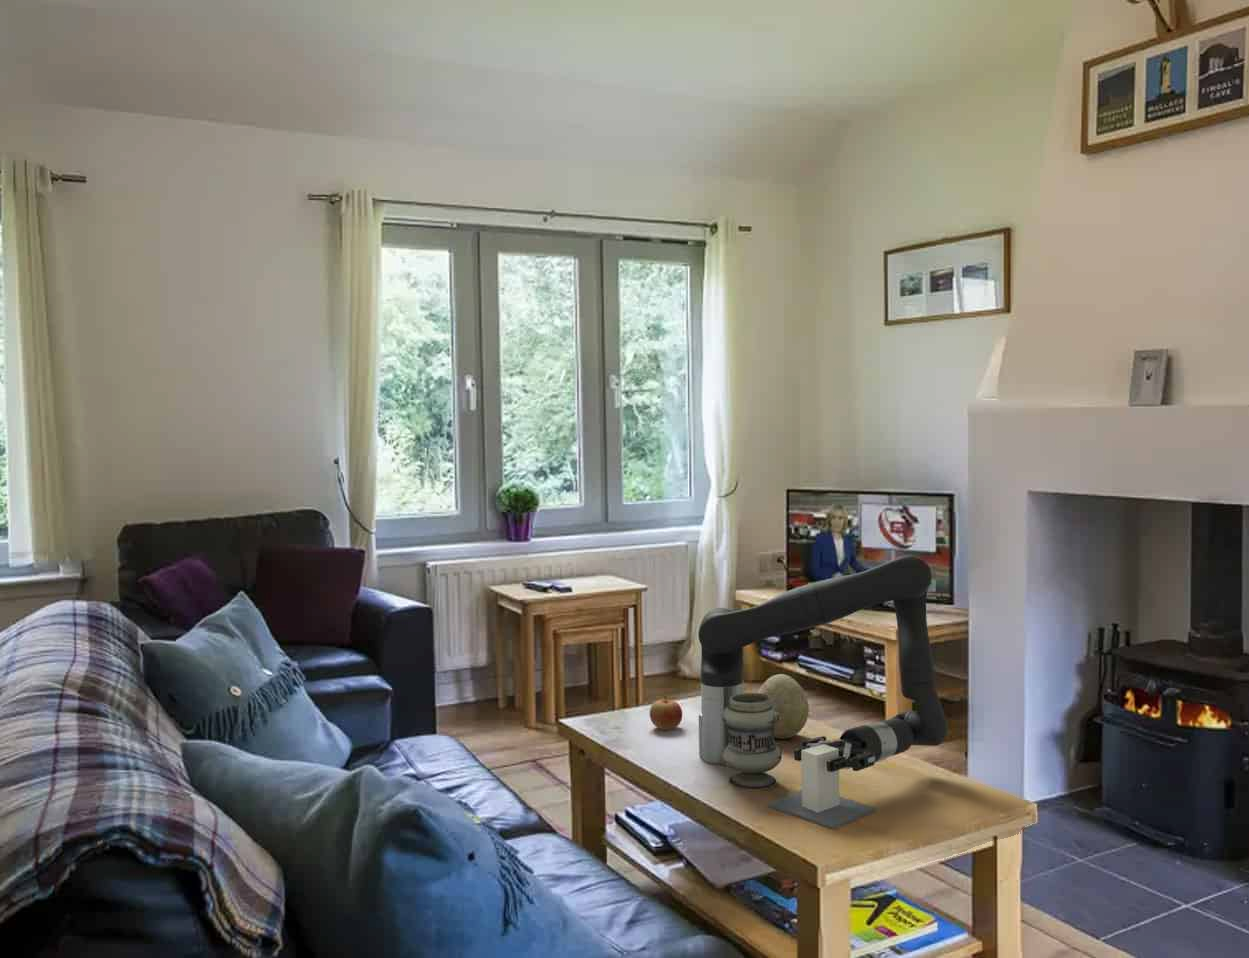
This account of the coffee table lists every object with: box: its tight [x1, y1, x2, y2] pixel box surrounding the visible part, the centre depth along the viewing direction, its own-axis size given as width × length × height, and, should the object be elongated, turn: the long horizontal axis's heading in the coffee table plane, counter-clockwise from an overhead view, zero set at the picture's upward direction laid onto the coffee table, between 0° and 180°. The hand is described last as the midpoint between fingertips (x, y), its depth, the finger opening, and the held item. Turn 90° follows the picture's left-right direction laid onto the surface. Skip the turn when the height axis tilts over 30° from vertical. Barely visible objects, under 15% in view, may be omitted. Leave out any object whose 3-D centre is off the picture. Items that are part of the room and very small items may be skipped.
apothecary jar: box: [722, 692, 783, 792], centre depth 218 cm, size 12×12×18 cm
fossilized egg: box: [757, 673, 810, 740], centre depth 248 cm, size 13×13×15 cm
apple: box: [649, 695, 683, 730], centre depth 258 cm, size 8×8×8 cm
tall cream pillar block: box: [801, 744, 840, 812], centre depth 203 cm, size 4×6×11 cm, turn 125°
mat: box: [766, 789, 877, 829], centre depth 203 cm, size 16×13×1 cm
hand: (811, 760), depth 201 cm, fingers open, 8 cm apart
